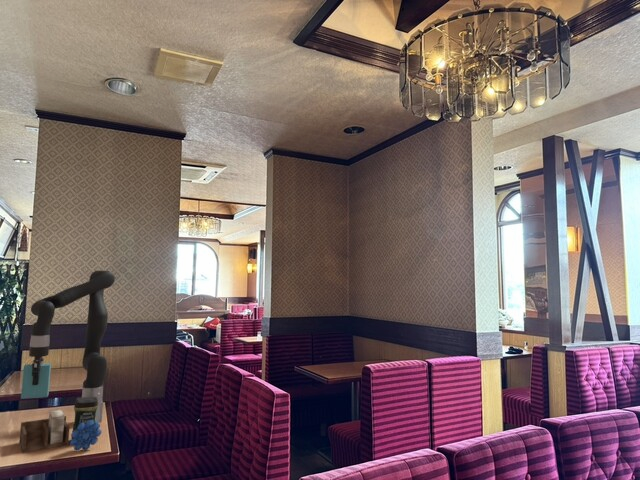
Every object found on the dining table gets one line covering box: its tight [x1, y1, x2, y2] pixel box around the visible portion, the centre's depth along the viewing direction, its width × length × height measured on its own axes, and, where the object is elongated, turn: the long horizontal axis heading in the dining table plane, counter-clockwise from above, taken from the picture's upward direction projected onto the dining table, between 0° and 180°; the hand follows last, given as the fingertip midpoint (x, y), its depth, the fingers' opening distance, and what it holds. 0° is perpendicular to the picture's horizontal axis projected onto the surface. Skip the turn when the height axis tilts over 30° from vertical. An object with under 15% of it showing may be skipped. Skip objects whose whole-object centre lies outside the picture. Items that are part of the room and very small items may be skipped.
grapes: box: [69, 420, 103, 452], centre depth 187 cm, size 12×7×12 cm, turn 119°
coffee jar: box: [70, 396, 98, 440], centre depth 198 cm, size 10×8×19 cm
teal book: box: [20, 363, 52, 400], centre depth 201 cm, size 4×10×14 cm, turn 114°
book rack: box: [18, 409, 70, 454], centre depth 192 cm, size 17×14×12 cm
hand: (36, 383), depth 201 cm, fingers closed on teal book, 4 cm apart
